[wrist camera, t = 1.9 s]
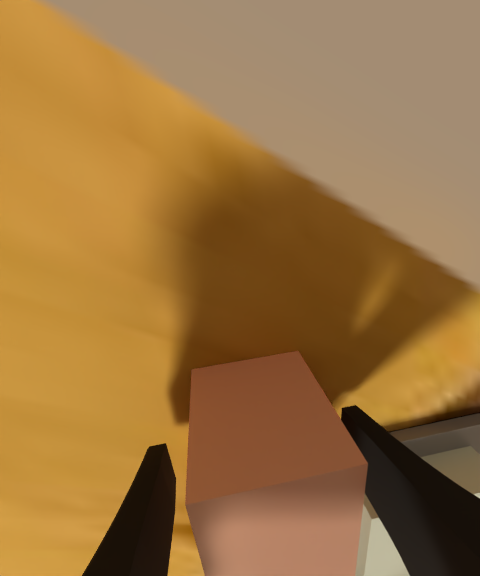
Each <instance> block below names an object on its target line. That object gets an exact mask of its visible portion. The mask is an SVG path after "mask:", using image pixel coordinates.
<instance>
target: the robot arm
mask: <svg viewBox="0 0 480 576" xmlns="http://www.w3.org/2000/svg"><path fill="white" fill-rule="evenodd" d="M341 421H342V422H343V424H344V426H345V427H346V429H347V430H348V432H349V434H350V435H351V437H352V439H353V440H354V442H355V443H356V445H357V447H358V448H359V450H360V451H361V453H362V455H363V456H364V458H365V460H366V461H367V463H368V468H367V477H366V485H365V494H366V496H367V498H368V500H369V501H370V503H371V505H372V506H373V508H374V510H375V512H376V513H377V515H378V517H379V519H380V520H381V522H382V524H383V526H384V527H385V529H386V531H387V533H388V534H389V536H390V538H391V540H392V542H393V543H394V545H395V547H396V549H397V551H398V553H399V555H400V557H401V559H402V561H403V563H404V565H405V567H406V569H407V571H408V573H409V575H410V576H480V498H478V497H477V496H475V495H474V494H472V493H470V492H469V491H467V490H466V489H464V488H463V487H461V486H460V485H458V484H457V483H455V482H454V481H452V480H451V479H450V478H448V477H447V476H445V475H444V474H442V473H441V472H440V471H438V470H437V469H435V468H434V467H433V466H431V465H430V464H429V463H427V462H426V461H425V460H423V459H422V458H421V457H419V456H418V455H417V454H415V453H414V452H413V451H411V450H410V449H409V448H408V447H406V446H405V445H404V444H402V443H401V442H400V441H399V440H397V439H396V438H395V437H394V436H392V435H391V434H390V433H389V432H387V431H386V430H385V429H384V428H383V427H381V426H380V425H379V424H378V423H377V422H375V421H374V420H373V419H372V418H371V417H369V416H368V415H367V414H366V413H365V412H363V411H362V410H361V409H360V408H359V407H357V406H356V405H355V406H350V407H345V408H342V415H341ZM175 496H176V477H175V474H174V470H173V467H172V463H171V460H170V456H169V453H168V449H167V446H166V443H165V444H160V445H155V446H150V447H149V448H148V449H147V452H146V454H145V456H144V459H143V461H142V463H141V466H140V468H139V470H138V472H137V474H136V476H135V479H134V481H133V483H132V485H131V487H130V489H129V491H128V493H127V495H126V497H125V499H124V501H123V503H122V505H121V507H120V509H119V511H118V513H117V515H116V517H115V518H114V520H113V522H112V524H111V526H110V528H109V529H108V531H107V533H106V535H105V537H104V538H103V540H102V542H101V544H100V546H99V547H98V549H97V551H96V553H95V554H94V556H93V558H92V560H91V561H90V563H89V565H88V566H87V568H86V570H85V571H84V573H83V575H82V576H167V574H168V566H169V558H170V549H171V541H172V533H173V524H174V515H175Z"/></svg>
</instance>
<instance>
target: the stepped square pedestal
mask: <svg viewBox="0 0 480 576" xmlns="http://www.w3.org/2000/svg"><path fill="white" fill-rule="evenodd" d="M389 433H390V434H391V435H392V436H394V437H395V438H396V439H397V440H399V441H400V442H401V443H402V444H404V445H405V446H406V447H408V448H409V449H410V450H411V451H413V452H414V453H415V454H417V455H418V456H419V457H421V458H422V459H423V460H425V461H426V462H427V463H429V464H430V465H431V466H433V467H434V468H435V469H437V470H438V471H440V472H441V473H442V474H444V475H445V476H447V477H448V478H450V479H451V480H452V481H454V482H455V483H457V484H458V485H460V486H461V487H463V488H464V489H466V490H467V491H469V492H470V493H472V494H474V495H475V496H477V497H478V498H480V413H478V414H473V415H468V416H464V417H459V418H454V419H450V420H445V421H440V422H436V423H431V424H426V425H422V426H417V427H412V428H408V429H403V430H398V431H394V432H389ZM355 576H410V575H409V573H408V571H407V569H406V567H405V565H404V563H403V561H402V559H401V557H400V555H399V553H398V551H397V549H396V547H395V545H394V543H393V542H392V540H391V538H390V536H389V534H388V533H387V531H386V529H385V527H384V526H383V524H382V522H381V520H380V519H379V517H378V515H377V513H376V512H375V510H374V508H373V506H372V505H371V503H370V501H369V500H368V498H367V496H366V494H364V503H363V511H362V520H361V529H360V538H359V546H358V555H357V564H356V572H355Z"/></svg>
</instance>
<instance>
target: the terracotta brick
mask: <svg viewBox="0 0 480 576" xmlns="http://www.w3.org/2000/svg"><path fill="white" fill-rule="evenodd" d="M367 468H368V463H367V461H366V460H365V458H364V456H363V455H362V453H361V451H360V450H359V448H358V447H357V445H356V443H355V442H354V440H353V439H352V437H351V435H350V434H349V432H348V430H347V429H346V427H345V426H344V424H343V422H342V421H341V419H340V417H339V416H338V414H337V413H336V411H335V409H334V408H333V406H332V405H331V403H330V401H329V400H328V398H327V396H326V395H325V393H324V392H323V390H322V388H321V387H320V385H319V383H318V382H317V380H316V379H315V377H314V375H313V374H312V372H311V371H310V369H309V367H308V366H307V364H306V362H305V361H304V359H303V358H302V356H301V354H300V353H299V351H294V352H288V353H283V354H277V355H271V356H265V357H260V358H254V359H248V360H242V361H237V362H231V363H225V364H219V365H214V366H208V367H202V368H196V369H192V370H191V392H190V414H189V436H188V458H187V480H186V502H185V505H186V509H187V512H188V516H189V519H190V523H191V527H192V530H193V534H194V537H195V541H196V545H197V548H198V552H199V555H200V559H201V562H202V566H203V570H204V573H205V576H355V572H356V564H357V555H358V546H359V538H360V529H361V520H362V511H363V503H364V494H365V485H366V477H367Z"/></svg>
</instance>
